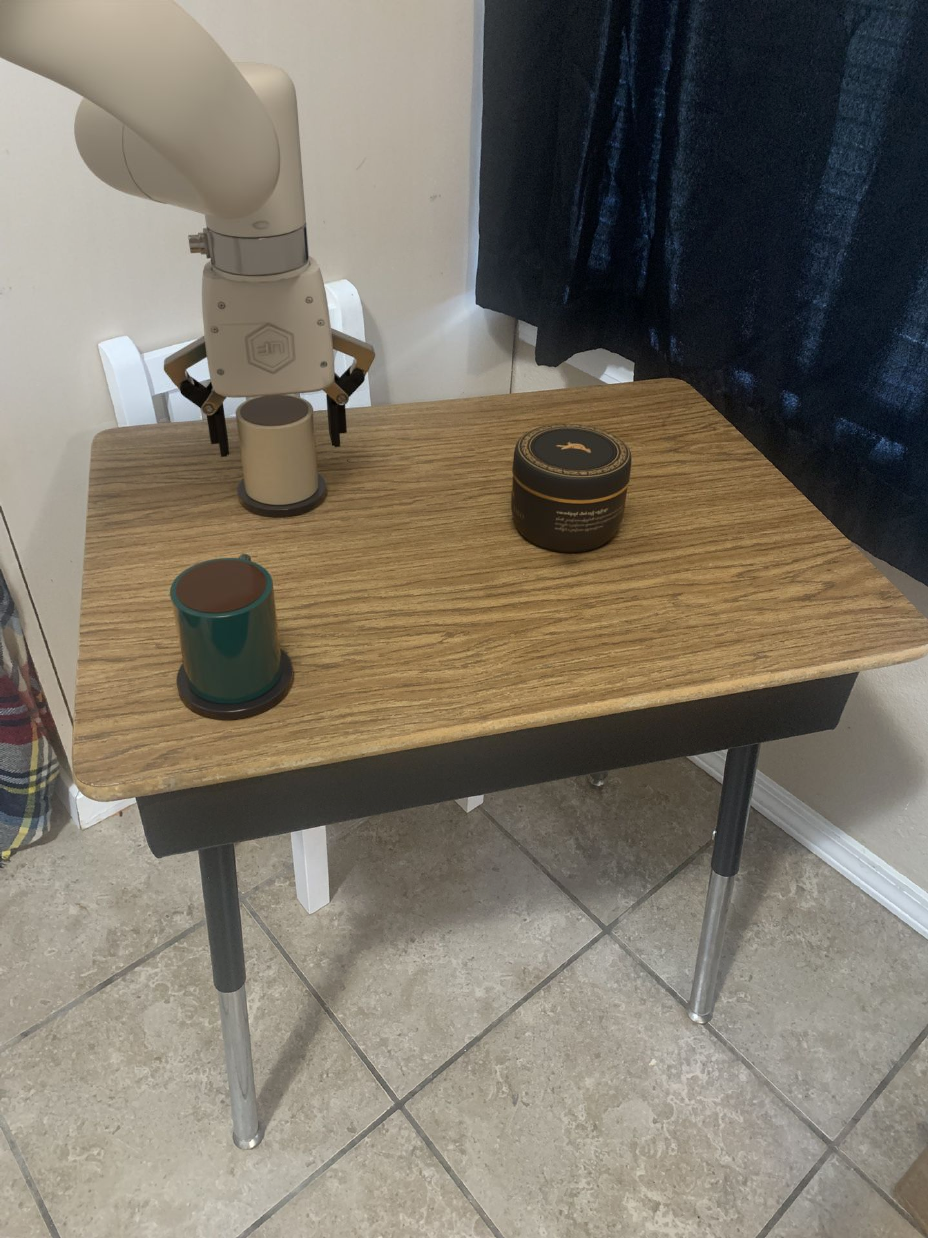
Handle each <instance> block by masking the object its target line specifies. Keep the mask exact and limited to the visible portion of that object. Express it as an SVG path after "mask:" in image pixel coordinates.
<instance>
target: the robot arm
mask: <svg viewBox="0 0 928 1238" xmlns="http://www.w3.org/2000/svg"><path fill="white" fill-rule="evenodd" d="M0 58H1V59H2V60H5V61H7V62H9V63H11V64H14V65H15V66H18V67H21V68H22V69H24V70H27V71H30V72H32V73H34V74H37V75H39V76H41V77H43V78H45V79H48V80H50V81H52V82H54V83H56V84H58V85H60V86H62V87H64V88H67V89H68V90H70V91H72V92H74V93H75V94H77V95H79V96H81V97H83V98H82V99H81V101H80V102H79V105H78V107H77V109H76V113H75V116H74V117H75V118H74V125H73V131H74V132H73V133H74V140H75V144H76V148H77V150H78V153H79V155H80V158H81V159H82V160H83V163H84V164H85V166H86V167H87V168H88V170H90V172H91V173H92V174H93V175H94V176H95V177H97V178H98V179H99V180H100V181H101V182H103V183H104V184H106V185H107V186H109V187H111V188H113V189H114V190H116V191H119V192H121V193H124V194H127V195H130V196H134V197H137V198H140V199H143V200H148V201H152V202H155V203H159V204H164V205H170V206H174V207H178V208H181V209H184V210H188V211H190V212H194V213H199V214H201V215H204V219H205V227H203V228H202V231H201V232H197V234H188V235H187V237H188V245H189V251H190V254H200V255H201V256H204V255H205V256H206V259H210V260H209V261H207V262H206V263H205V265H204V266H203V270H202V280H201V307H202V308H201V311H202V324H203V335H202V336H201V337H199V338H197V339H196V340H194V341H193V342H191V343H189V344H186V346H184V347H182V348H180V349H179V350H177V351H175V352H174V353H172V354H170V355H169V356H167V357H165V358H164V360H163V371H164V373H165V374H166V376H167V377H168V378H169V379H170V380H171V382H172V383H173V385H174V386H175V387H176V388H177V389H178V390H179V392H180V395H182V397H184V398H185V399H187V400H188V401H189V402H191V403H192V404H194V406H197V408H199V409H200V410H201V412H202V413H203V415H206V421H207V427H208V434H209V439H210V444H211V445H218V448H219V453H220V458H227V457H228V456H230V445H229V444H230V443H229V435H228V428H227V420H226V415H225V408H224V407H225V406H224V401H225V400H226V399H227V398H233V399H236V398H237V399H240V398H254V397H257V396H271V395H285V394H287V395H295V394H296V395H297V394H307V393H317V392H321V391H323V392H324V393H325V394H326V395H325V396H326V411H327V424H328V433H329V438H330V442H331V446H332V447H334V448H341V434H347V433H348V431H347V430H348V428H347V413H346V410H347V409H346V405H347V404H348V403H349V401H350V397H352V395H353V394H354V393H355V392H356V391H357V390H358V389H359V388H360V387H361V386H362V384H363V383H364V382H365V380H366V375H367V374H368V372H369V370H370V368H371V366H372V364H373V362H374V360H375V358H376V352H375V349H374V346H373V345H372V344H370V343H368V342H365V341H363V340H361V339H358V338H356V337H354V336H352V335H349V334H347V333H344V332H342V331H340V330H337V329H335V328H332V325H331V318H330V310H329V303H328V297H327V292H326V291H327V290H326V287H325V283H324V278H323V274H322V271H321V268H320V265H319V263H318V261H317V260H316V259H315V258H314V257H313V256H310V255H309V241H308V240H309V239H308V227H307V216H306V201H305V191H304V178H303V166H302V150H301V137H300V123H299V110H298V100H297V94H296V93H297V91H296V87H295V83H294V82H293V79H292V78H291V77H290V75H289V73H287V72H286V71H285V70H283V69H282V68H280V67H278V66H275V65H272V64H268V63H263V62H251V61H249V62H248V61H234V62H233V61H232V60H231V58H230V57H229V56H228V54H227V53H226V52H225V50H224V49H223V48H222V46H221V45H220V44H219V43H218V42H217V41H216V40H215V38H213V37H212V35H211V34H210V32H208V31H207V30H206V29H205V27H203V26H202V25H201V24H200V23H199V22H198V21H197V20H196V19H195V18H194V17H193V16H192V15H191V14H190V13H188V12H187V11H186V10H185V9H184V8H183V7H182V6H181V5H179V3H177V2H176V1H175V0H0ZM334 351H337V352H340V353H342V354H343V355H346V356H350V357H352V358H353V361H352V363H351V365H350V366H349V367H348V368H347V369H345V371H344V372H343V373H342V374H341V375H340V376H339V375H338V374H337V373H336V372H335V355H334ZM205 359H206V361H207V368H208V374H209V381H208V382H207V384H206V385H203V384H202V383H201V382H199V381H198V380H197V379H196V378H194V377H192V376H191V375H190V374H189V371H187V370H188V369H189V368H191V367H193V366H194V365H196V364H198V363H199V362H201V361H203V360H205Z"/></svg>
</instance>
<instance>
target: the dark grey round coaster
mask: <svg viewBox="0 0 928 1238" xmlns="http://www.w3.org/2000/svg"><path fill="white" fill-rule="evenodd" d="M318 482H319V486H318V489H317V491H316V492H315V493H314V494H313V495H312V496H311V497H309V498H307V499H305V500H303V501H300V502H297V503H293V504H286V505H270V504H264V503H261V502H258V501H256V500H254V499H252V498H251V497H249V496H248V494H247V493H246V491H245V485H244V477H242V479H240V482H239V483H238V484H237V487H236V492H237V499H238V502H239V504H240V505H241V506H242V507H243V508H244V510H246V511H248V512H251V513H252V514H255V515H257V516H262V517H268V518H289V517H296V516H300V515H303V514H306V513H308V512H311V511H313V510H315V509H317V508H318V507H319V506H321V504H322V503H323V502H324V501H325V500H326V498H327V494H328V488H327V487H328V485H327V482H326V479H325V478H324V476H323V475H322V474H321V473H320V472H318Z"/></svg>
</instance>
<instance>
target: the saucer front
mask: <svg viewBox="0 0 928 1238" xmlns="http://www.w3.org/2000/svg"><path fill="white" fill-rule="evenodd" d="M280 650H281V659H282V674H281V676H280V679H279V680H278V682H277V683H276V684H275V686H274V687H273V688H272V689H270V690H269V691H268V692H266V693H265V694H263V695H261V696H260V697H257V698H255V699H252V700H250V701H246V702H242V703H235V704H221V703H214V702H210V701H207V700H204V699H202V698H200V697H199V696H197V695H196V694H195V693H194V692H193V691H192V690H191V689H190V688H189V686H188V683H187V680H186V675H185V670H184V664H183V662H182V663H181V665H180V667H179V668H178V671H177V674H176V678H175V679H176V688H177V692H178V696H179V698H180V700H181V702H182V703H183V705H185V707H187V708H188V709H189V710H190V711H192V712H193V713H195V714H197V715H199V716H202V717H204V718H208V719H213V720H219V721H221V720H222V721H233V720H243V719H248V718H252V717H254V716H258V715H260V714H262V713H265V712H267V711H268V710H271V709H272V708H273V707H275V706H276V705H278V704H279V703H281V701H282V700H283V699H284V698H285V697H286V696H287V695H288V693H289V691H290V690H291V688H292V686H293V682H294V668H293V663H292V660H291V658H290V656H289V655H288V654H287V651H285V650H284V649H283V648H282V647H280Z"/></svg>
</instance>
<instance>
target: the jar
mask: <svg viewBox="0 0 928 1238" xmlns="http://www.w3.org/2000/svg"><path fill="white" fill-rule="evenodd" d="M632 458H633V457H632V453H631V450H630V447H629V446H628V445H627V443H625V442H624V440H622V439H621V438H620V437H619V436H617V435H616V434H614V433H611V432H609V431H607V430H605V429H602V428H600V427H595V426H592V425H586V424H581V423H552V424H546V425H542V426H538V427H535V428H532V429H530V430H529V431H526V432H525V433H524V434H523V435H521V437H519V439H518V440H517V442H516V443H515V447H514V451H513V458H512V459H513V460H512V464H511V465H512V466H511V472H512V481H511V497H510V498H511V499H510V507H511V509H510V510H511V514H512V518H513V522H514V524H515V528H516V529H517V531H518V532H519V533H520V534H521V535H522V536H523V538H525V539H526V540H527V541H528V542H530V543H532V544H534V545H535V546H537V547H540V548H541V549H546V550H548V551H553V552H559V553H582V552H583V553H584V552H589V551H592V550H595V549H598V548H600V547H602V546H604V545H605V544H606V543H608V542H610V540H611V539H612V538H614V536H615V535H616V533H617V531H618V529H619V527H620V525H621V522H622V521H623V518H624V513H625V507H626V499H627V493H628V487H629V484H630V482H631V477H632V473H631V470H632Z"/></svg>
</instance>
